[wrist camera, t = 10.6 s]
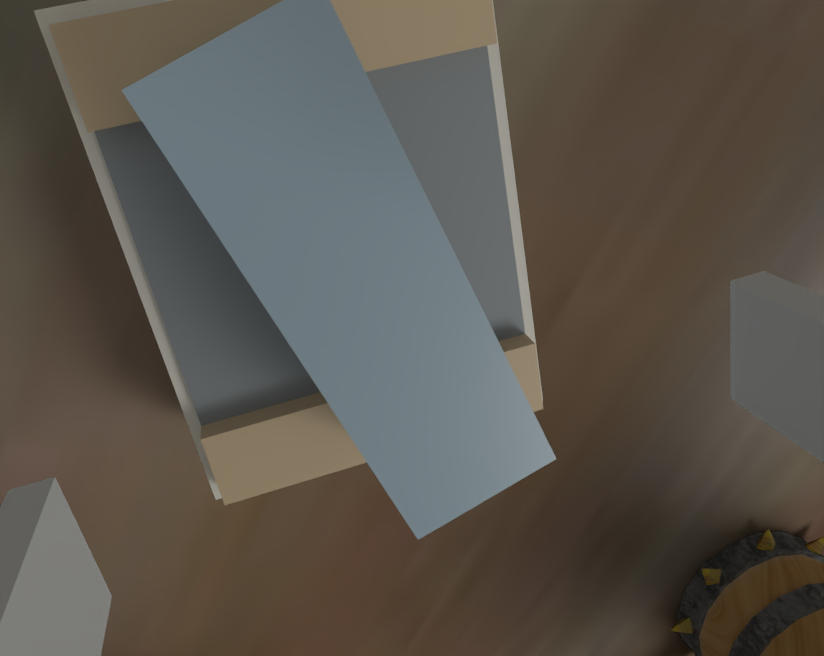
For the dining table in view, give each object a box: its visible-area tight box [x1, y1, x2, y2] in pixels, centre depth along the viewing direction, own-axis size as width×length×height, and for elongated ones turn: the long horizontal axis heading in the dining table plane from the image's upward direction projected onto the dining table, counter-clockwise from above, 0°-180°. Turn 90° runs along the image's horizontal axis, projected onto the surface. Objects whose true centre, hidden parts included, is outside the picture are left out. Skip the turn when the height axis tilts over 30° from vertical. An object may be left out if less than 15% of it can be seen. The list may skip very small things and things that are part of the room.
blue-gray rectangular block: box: [122, 0, 556, 540], centre depth 22 cm, size 5×15×6 cm, turn 27°
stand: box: [34, 0, 543, 505], centre depth 28 cm, size 14×18×7 cm
